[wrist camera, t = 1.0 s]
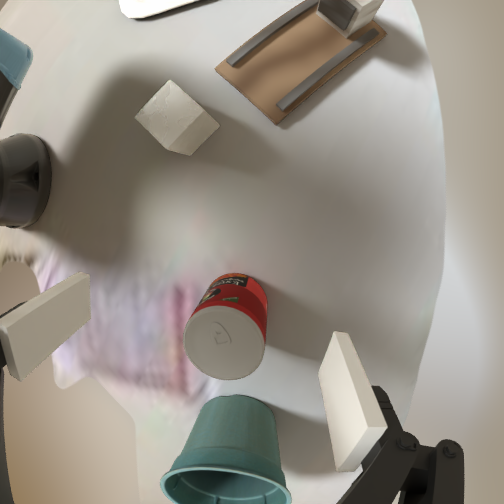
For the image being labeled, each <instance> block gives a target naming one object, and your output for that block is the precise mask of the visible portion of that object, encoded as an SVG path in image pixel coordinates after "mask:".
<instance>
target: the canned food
mask: <svg viewBox="0 0 504 504" xmlns="http://www.w3.org/2000/svg"><path fill="white" fill-rule="evenodd" d="M267 309H268V303H267V298H266V295H265V293H264V291H263V289H262V288H261V286H260V285H259V284H258V283H257V282H256V281H255V280H253V279H252V278H251V277H248V276H246V275H243V274H239V273H232V274H226V275H223V276H221V277H219V278H217V279H216V280H215V281H214V282H213V283H212V284H211V285H210V287H209V288H208V290H207V291H206V293H205V295H204V296H203V298H202V299H201V301H200V303H199V304H198V306H197V307H196V309H195V311H194V312H193V314H192V315H191V317H190V319H189V321H188V322H187V324H186V327H185V330H184V333H183V345H184V349H185V352H186V355H187V356H188V358H189V360H190V361H191V362H192V363H193V365H194V366H195V367H196V368H198V369H199V370H200V371H201V372H203V373H205V374H206V375H208V376H211V377H213V378H217V379H221V380H237V379H241V378H244V377H246V376H248V375H250V374H251V373H252V372H254V371H255V370H256V369H257V367H258V366H259V365H260V363H261V361H262V358H263V355H264V350H265V341H266V325H267Z"/></svg>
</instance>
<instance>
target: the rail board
mask: <svg viewBox="0 0 504 504" xmlns="http://www.w3.org/2000/svg"><path fill="white" fill-rule="evenodd" d="M383 1H384V0H305V1H303V2H302V3H300V4H299V5H297V6H295V7H294V8H292V9H291V10H289V11H288V12H286V13H285V14H283V15H282V16H280V17H279V18H278V19H276V20H275V21H273V22H272V23H271V24H269V25H268V26H266V27H265V28H264V29H262V30H261V31H260V32H258V33H257V34H256V35H254V36H253V37H252V38H250V39H249V40H248V41H247V42H245V43H244V44H243V45H242V46H240V47H239V48H238V49H237V50H235V51H234V52H233V53H232V54H231V55H229V56H228V57H227V58H226V59H225V60H224V61H222V62H221V63H220V64H219V65H218V66H217V67H216V68H214V69H215V70H216V72H217V73H218V74H220V75H221V76H222V77H223V78H224V79H225V80H227V81H228V82H229V83H230V84H231V85H232V86H234V87H235V88H236V89H237V90H238V91H239V92H240V93H242V94H243V95H244V96H245V97H246V98H247V99H248V100H249V101H250V102H252V103H253V104H254V105H255V106H256V107H257V108H258V109H259V110H260V111H261V112H262V113H263V114H264V115H266V116H267V117H268V118H269V119H270V120H271V121H272V122H273V123H274V124H275V125H277V124H278V123H279V122H280V121H281V120H283V119H284V118H285V117H286V116H287V115H288V114H289V113H290V112H292V111H293V110H294V109H295V108H296V107H297V106H298V105H300V104H301V103H302V102H303V101H304V100H305V99H307V98H308V97H309V96H310V95H311V94H312V93H314V92H315V91H316V90H317V89H318V88H320V87H321V86H322V85H323V84H324V83H326V82H327V81H328V80H329V79H331V78H332V77H333V76H334V75H335V74H337V73H338V72H339V71H340V70H342V69H343V68H344V67H346V66H347V65H348V64H349V63H351V62H352V61H353V60H354V59H356V58H357V57H358V56H360V55H361V54H362V53H364V52H365V51H366V50H368V49H369V48H370V47H372V46H373V45H374V44H376V43H377V42H378V41H380V40H381V39H383V38H384V37H385V36H386V35H387V32H385V31H384V30H383V29H382V28H381V27H380V26H379V25H378V24H377V23H375V22H374V21H373V20H372V19H373V17H374V16H375V14H376V12H377V11H378V9H379V8H380V6H381V4H382V3H383Z"/></svg>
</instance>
